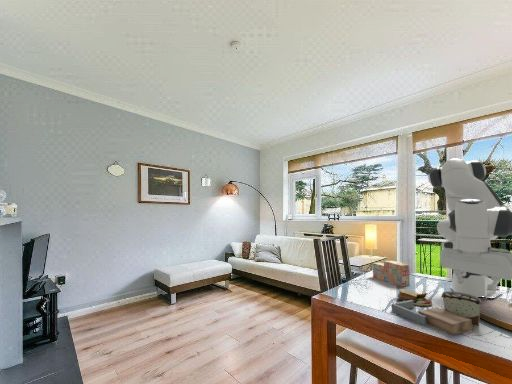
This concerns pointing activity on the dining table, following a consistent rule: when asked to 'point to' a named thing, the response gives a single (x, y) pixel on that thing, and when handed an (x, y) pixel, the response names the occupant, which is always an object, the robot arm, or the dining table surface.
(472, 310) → the food container
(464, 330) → the walnut slab
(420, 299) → the toy sandwich meal
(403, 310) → the corner jig
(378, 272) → the stack of blocks
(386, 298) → the dining table surface
